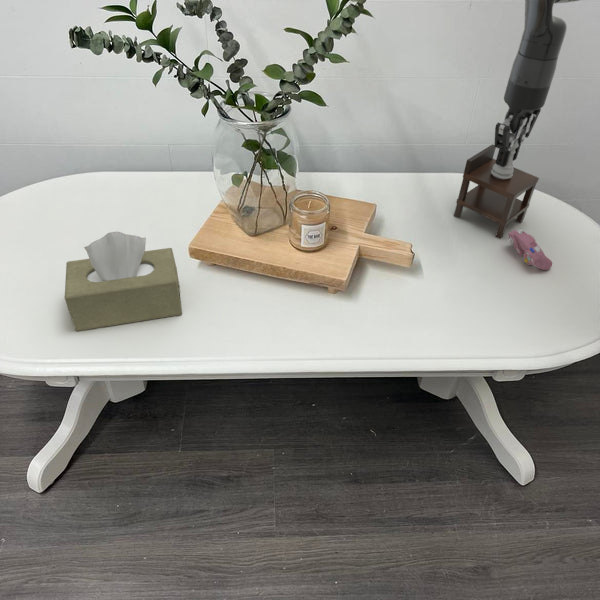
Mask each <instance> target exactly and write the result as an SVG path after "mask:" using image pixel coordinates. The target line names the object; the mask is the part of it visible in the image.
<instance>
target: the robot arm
mask: <svg viewBox="0 0 600 600" xmlns="http://www.w3.org/2000/svg"><path fill="white" fill-rule="evenodd" d="M580 1H581V0H524V29H523V32H522V36H521V38H520V42H519V46H518V49H517V52H516V56H515V58H514V60H513V63H512V66H511V70H510V73H509V77H508V81H507V85H506V88H505V92H504V96H503V101H504V102H505V104H506V105H508V109H507V112H506V113H505V116H504V117H503V122H497V123H496V125H495V126H494V127H495V128H494V144H493V145H494V147H496V148H497V149H498V152H497V154H496V155H497V156H496V159H495V160H496V164H497V165H499V166H501V167H505V166H506V165H507V163H508V160H509V156H510V153H511V149H512V147H513V144H514V142H515V140H518V144H519V146H518V147H517V148H516V149H515V151H516V153H515V154H514V156H513V162H514V161H515V160H517V158H518V155H519V152H520V149H521V145H522V144H523V143H524V142H525V139H528V138H529V136H530V135H531V132H532V130H533V128H534V126H535V124H536V121H537V120H538V117H539V115H540V113H541V111H542V108H543V107H544V106H545V104H546V100H547V97H548V95H549V92H550V88H551V85H552V83H553V79H554V77H555V73H556V69H557V65H558V60H559V56H560V52H561V49H562V47H563V43H564V40H565V37H566V35H567V29H568V27H567V25H568V24H567V23H566V21H565V20H564V19H562V18H561V17H558V16H555V15H553V9H554V5H555V4H566V3H574V2H580ZM509 139H510V142H509Z"/></svg>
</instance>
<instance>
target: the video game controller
mask: <svg viewBox="0 0 600 600" xmlns="http://www.w3.org/2000/svg"><path fill="white" fill-rule="evenodd" d="M507 236H508V240H507V241H508V243H509V244H510V245H512V246H513V247H514V249H515V251H516V253H517V254H518V256H520V257H521V256H523V259H524V260H523V261H524V263H526V264H527V265H528V266H534V267H536V268H538V269H540V270H543V271H548V270H550V269H551V268H552V267H553V261H552V259H550V258H549V257H548V256H546V254H545V253H544V250H542V248H541V247H540V246H539V244H538V243H537V241H536V239H535V237H533V235H531V234H529V233H527V232H525V231H523V229H522V228H519V229H514V230H512V231H510V232H508V233H507Z"/></svg>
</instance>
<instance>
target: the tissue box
mask: <svg viewBox="0 0 600 600" xmlns="http://www.w3.org/2000/svg"><path fill="white" fill-rule="evenodd" d="M146 244H147V237H141V236H138V235H134V234H127V233H124V232H122V231H117V230H115V231H110V232H107V233H106V234H104V236H102V237H100V238H99V239H97V240H94V241H93V242H91V243H89V244H88V245H87V246H83V248H84V250H85V251H86V253H87V257H88V258H85V259H77V260H69V261H66V264H65V265H66V266H65V282H64V283H65V285H64V300H65V304H66V306H67V311H68V312H69V315H70V318H71V320H72V323H73V326H74V329H75V331H76V332H80V331H87V330H93V329H99V328H100V329H101V328H106V327H111V326H118V325H124V324H131V323H136V322H143V321H150V320H155V319H163V318H167V317H168V318H169V317H175V316H180V315H181V316H182V314H183V309H182V301H181V300H182V299H181V285H180V280H179V275H178V268H177V264H176V259H175V255H174V251H173V248H172V247H166V248H159V249H152V250H146Z"/></svg>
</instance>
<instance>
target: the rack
mask: <svg viewBox="0 0 600 600" xmlns="http://www.w3.org/2000/svg"><path fill="white" fill-rule="evenodd" d="M495 152H496V147H494V144H493V143H492V144H490V145H489V146H487V147H486V148H484V149H482V150H481V151H479V152H477V153H476V154H474V155H472V156H470V157H469V158H467V159H466V162H465V165H464V169H463V175H462V181H461V185H460V189H459V194H458V198H457V199H456V202H455V203H456V205H455V209H454V213H453V217H455V218H456V219H459V218H461V217H462V214H463V210H464V208H466V209H469V210H470V211H473V212H475V213H476V214H478V215H481V216H483V217H484V218H487V219H488V220H491V221H492V222H493V221H494V222H495V223H497V224H499V225H498V227H497V230H496V232H495V238H497V239H499V240H501V239H503V238H504V236H505V232H506V230H507V226H508V224H510V223H511V222H512V221H513V220H515V222H517V223H519V224H522V223H523V222H524V219H525V216H526V214H527V211H528V209H529V207H530V203H531V199H532V197H533V194H534V191H535V189H536V185H537V183H538V181H539V179H540V178H539V177H538V176H536V175H533V174H532V173H528V172H526V171H524V170H521V169H519V168H516V167H514V166H513V168H514V172H513V176H512V177H511V178H509V179H507V180H502V179H498V178H495V177H494V176H493V175H492V173H491V170H492V169H493V165H494V164H496V159H495V158H494V156H495ZM470 183H474V184H476V186H475V187H473V188H471V189H470V190H469V187H470ZM523 194H524V195H523ZM522 195H523V199H522V200H521V199H519V197H520V196H522Z"/></svg>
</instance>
